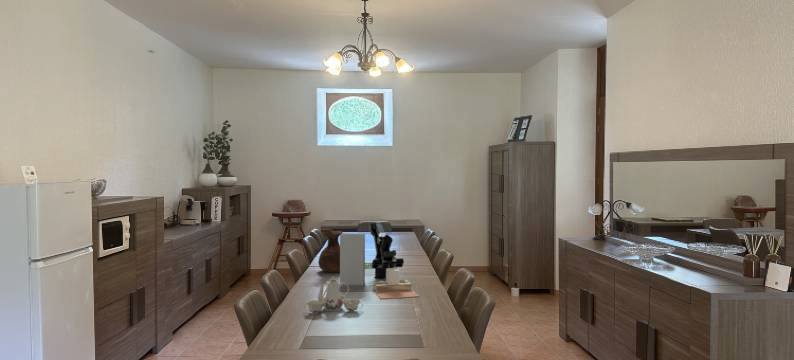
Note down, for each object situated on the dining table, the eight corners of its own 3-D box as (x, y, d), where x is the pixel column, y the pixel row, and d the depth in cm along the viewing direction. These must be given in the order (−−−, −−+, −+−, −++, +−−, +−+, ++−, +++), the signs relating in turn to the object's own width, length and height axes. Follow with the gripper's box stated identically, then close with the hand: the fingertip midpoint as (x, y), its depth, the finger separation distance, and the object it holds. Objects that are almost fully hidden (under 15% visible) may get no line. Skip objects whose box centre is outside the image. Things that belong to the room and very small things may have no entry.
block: (386, 282, 292) (386, 268, 291) (396, 281, 293) (396, 267, 293) (388, 284, 285) (389, 270, 285) (399, 284, 286) (399, 270, 286)
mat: (375, 293, 282) (375, 292, 282) (413, 291, 287) (413, 290, 287) (380, 299, 270) (380, 298, 270) (419, 296, 275) (419, 296, 275)
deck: (373, 288, 294) (373, 281, 293) (406, 286, 298) (406, 279, 298) (376, 292, 283) (377, 285, 283) (411, 290, 288) (411, 283, 288)
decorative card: (401, 253, 370) (403, 258, 350) (401, 263, 370) (403, 269, 350) (357, 253, 368) (356, 258, 348) (357, 264, 369) (356, 269, 349)
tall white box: (364, 282, 307) (365, 233, 306) (363, 285, 301) (363, 235, 300) (341, 282, 308) (341, 233, 307) (339, 284, 302) (340, 234, 302)
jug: (314, 269, 346) (314, 225, 345) (343, 266, 355) (344, 224, 354) (323, 275, 326) (323, 229, 325) (354, 273, 335) (354, 228, 334)
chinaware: (305, 320, 237) (306, 286, 235) (302, 307, 253) (303, 275, 251) (364, 316, 245) (365, 283, 243) (357, 303, 261) (358, 272, 258)
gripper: (372, 246, 298) (376, 268, 288) (403, 244, 303) (407, 266, 292) (370, 256, 306) (373, 278, 295) (399, 255, 310) (404, 277, 300)
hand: (390, 275), depth 296 cm, fingers closed
